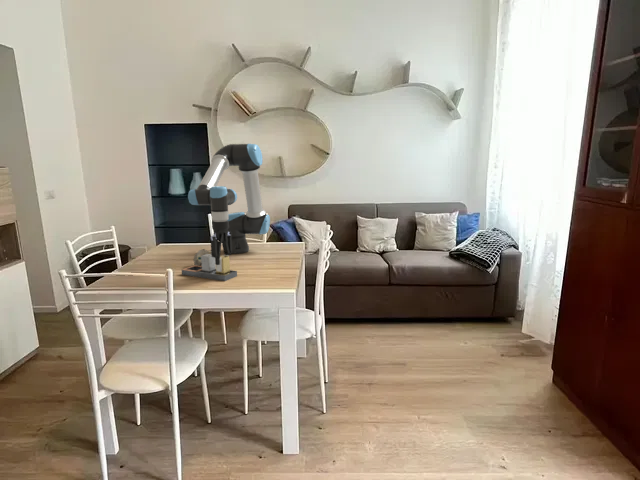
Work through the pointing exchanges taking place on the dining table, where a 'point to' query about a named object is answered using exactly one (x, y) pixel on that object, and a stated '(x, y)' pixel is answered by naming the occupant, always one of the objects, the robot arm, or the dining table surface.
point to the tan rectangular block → (224, 265)
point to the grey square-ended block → (208, 263)
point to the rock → (198, 257)
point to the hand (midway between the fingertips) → (223, 269)
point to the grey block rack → (197, 272)
